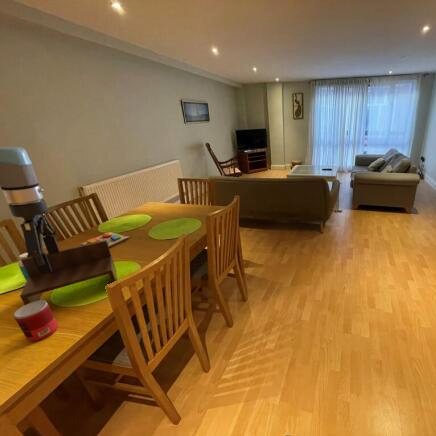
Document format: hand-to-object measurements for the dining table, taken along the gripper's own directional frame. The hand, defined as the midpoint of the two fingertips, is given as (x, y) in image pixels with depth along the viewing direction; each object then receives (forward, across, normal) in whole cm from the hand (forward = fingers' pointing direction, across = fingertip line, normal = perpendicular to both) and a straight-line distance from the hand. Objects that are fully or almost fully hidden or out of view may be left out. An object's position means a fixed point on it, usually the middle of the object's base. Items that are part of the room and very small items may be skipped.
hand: (50, 262), depth 79 cm
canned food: (+26, -1, +8) cm, 27 cm away
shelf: (+26, +22, +1) cm, 34 cm away
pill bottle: (+27, +43, +17) cm, 54 cm away
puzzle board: (+27, +70, -8) cm, 76 cm away
